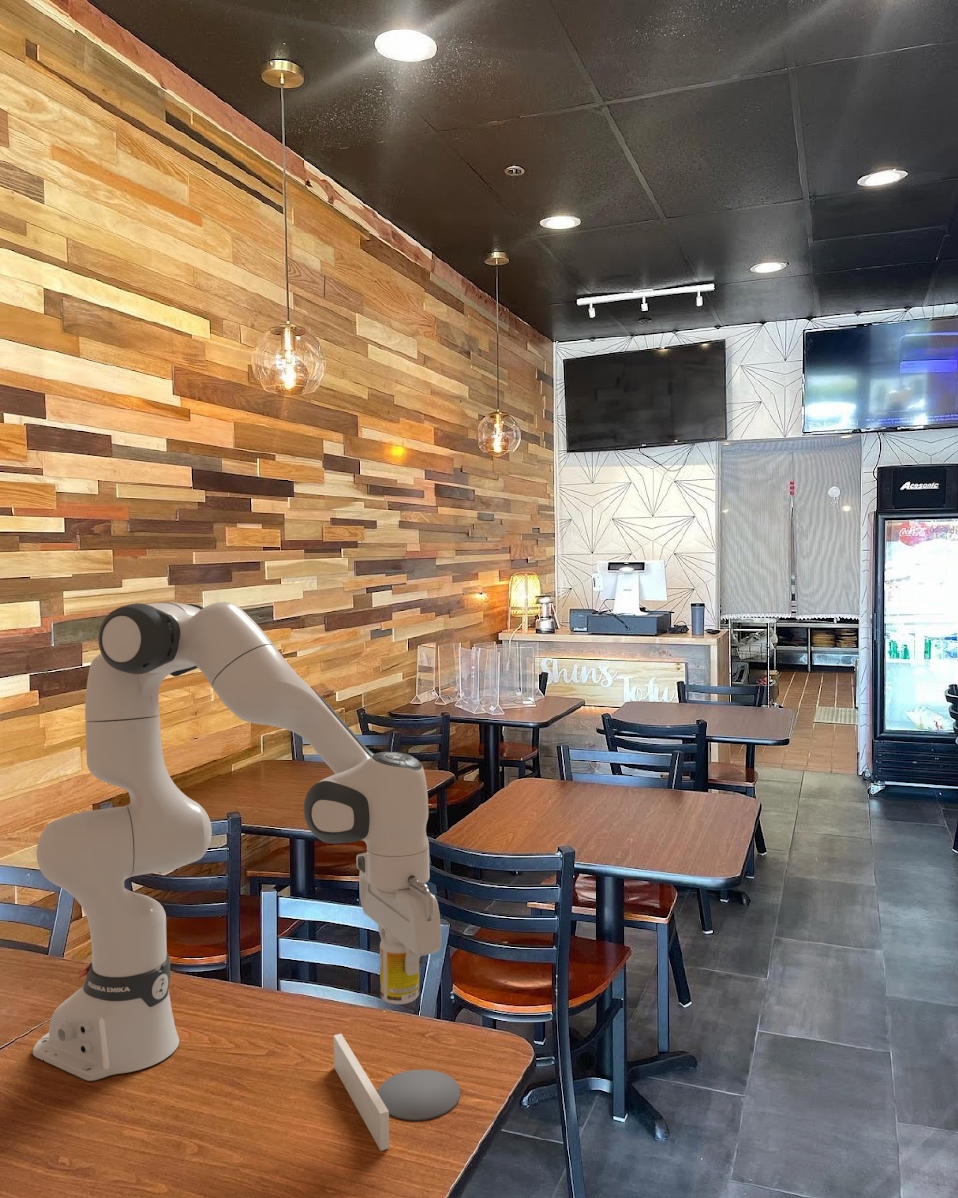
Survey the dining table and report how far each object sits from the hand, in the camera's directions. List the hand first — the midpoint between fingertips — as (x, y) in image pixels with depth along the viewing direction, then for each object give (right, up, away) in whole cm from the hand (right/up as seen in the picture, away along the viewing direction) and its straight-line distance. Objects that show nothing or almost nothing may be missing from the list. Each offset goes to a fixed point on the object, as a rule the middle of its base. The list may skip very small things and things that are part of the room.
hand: (400, 964), depth 130 cm
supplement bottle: (0, -5, 0) cm, 5 cm away
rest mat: (+2, -20, +2) cm, 20 cm away
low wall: (-6, -20, 0) cm, 21 cm away
